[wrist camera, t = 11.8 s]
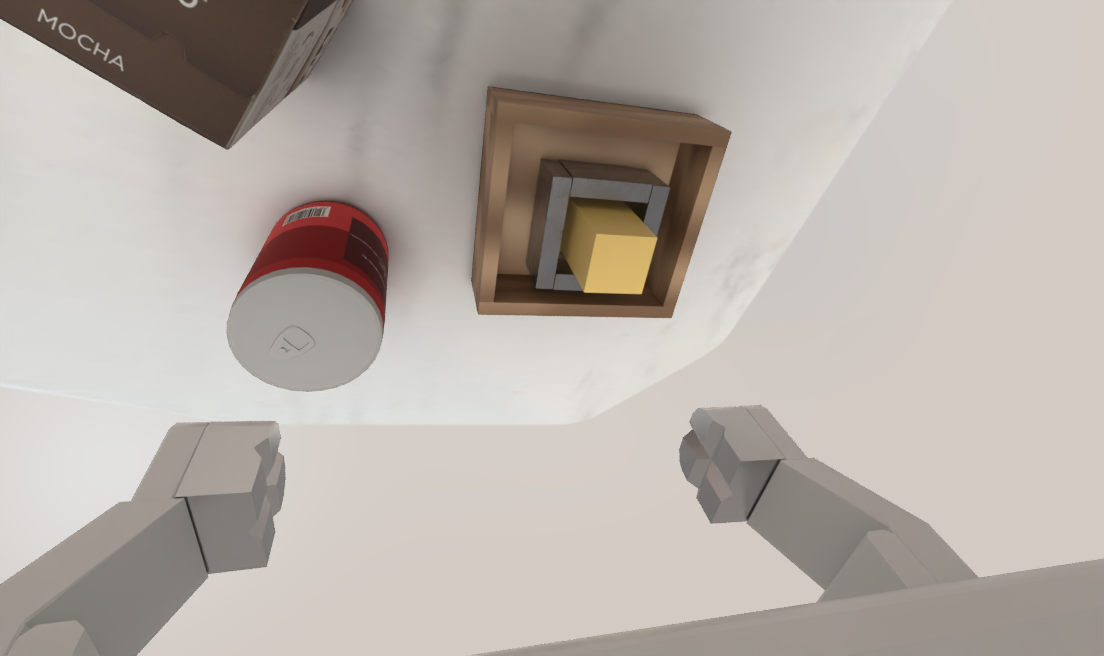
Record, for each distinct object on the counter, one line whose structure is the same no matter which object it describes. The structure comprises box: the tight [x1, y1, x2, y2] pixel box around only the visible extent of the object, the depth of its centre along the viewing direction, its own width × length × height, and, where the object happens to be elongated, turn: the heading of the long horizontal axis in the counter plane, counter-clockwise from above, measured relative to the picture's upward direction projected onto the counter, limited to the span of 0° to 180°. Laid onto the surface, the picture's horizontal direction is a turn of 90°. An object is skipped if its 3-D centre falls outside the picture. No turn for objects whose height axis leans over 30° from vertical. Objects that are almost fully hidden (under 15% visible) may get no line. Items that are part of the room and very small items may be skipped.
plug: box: [560, 196, 657, 294], centre depth 36 cm, size 4×4×8 cm
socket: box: [526, 158, 670, 291], centre depth 38 cm, size 8×8×4 cm
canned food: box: [227, 201, 388, 392], centre depth 33 cm, size 8×8×11 cm
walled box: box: [471, 87, 731, 318], centre depth 37 cm, size 14×15×5 cm
